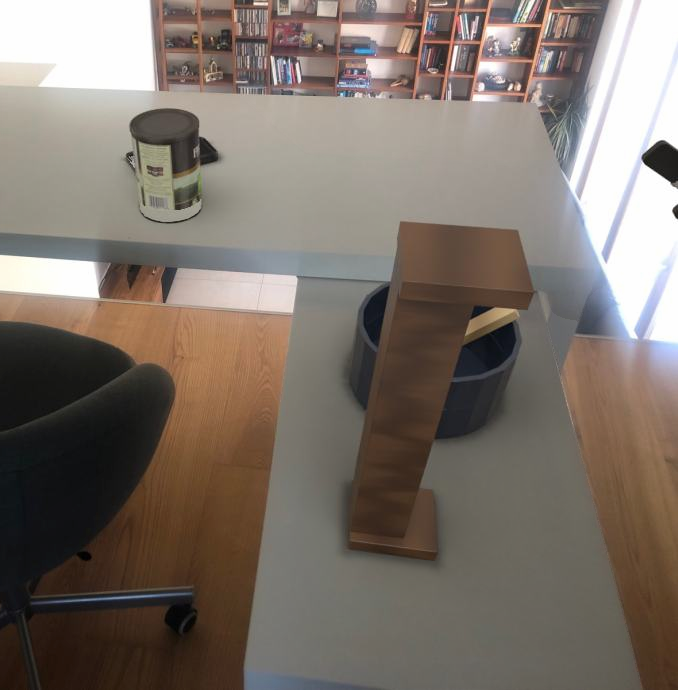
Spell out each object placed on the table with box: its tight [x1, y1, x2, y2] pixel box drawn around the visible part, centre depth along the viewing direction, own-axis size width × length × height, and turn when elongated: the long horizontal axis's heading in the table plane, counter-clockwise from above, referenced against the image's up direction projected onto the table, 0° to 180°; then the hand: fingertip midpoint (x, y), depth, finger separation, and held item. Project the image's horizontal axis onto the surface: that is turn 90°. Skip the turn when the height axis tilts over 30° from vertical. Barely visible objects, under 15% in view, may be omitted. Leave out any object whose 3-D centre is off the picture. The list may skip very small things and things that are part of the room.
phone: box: [125, 136, 219, 174], centre depth 122 cm, size 8×1×15 cm
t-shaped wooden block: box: [462, 307, 521, 346], centre depth 78 cm, size 14×5×2 cm
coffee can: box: [128, 107, 203, 211], centre depth 106 cm, size 10×10×14 cm
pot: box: [348, 281, 523, 439], centre depth 78 cm, size 17×17×9 cm
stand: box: [347, 220, 535, 561], centre depth 57 cm, size 8×7×32 cm
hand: (666, 175), depth 55 cm, fingers open, 8 cm apart
